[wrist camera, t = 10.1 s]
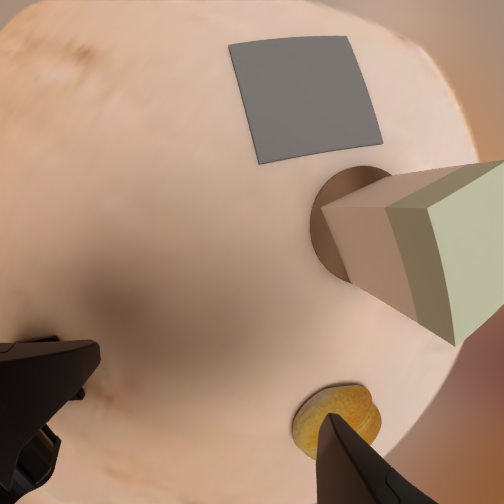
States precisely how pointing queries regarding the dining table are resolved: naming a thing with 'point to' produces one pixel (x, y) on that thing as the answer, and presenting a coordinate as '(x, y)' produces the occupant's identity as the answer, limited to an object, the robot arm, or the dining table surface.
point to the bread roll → (340, 402)
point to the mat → (304, 96)
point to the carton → (428, 244)
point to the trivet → (330, 192)
